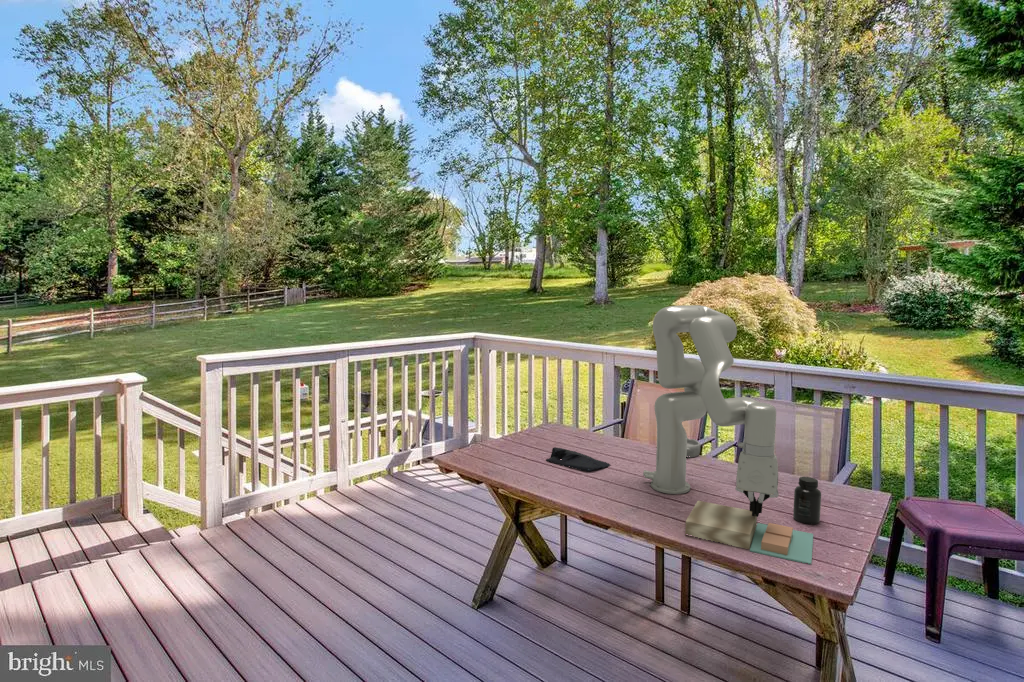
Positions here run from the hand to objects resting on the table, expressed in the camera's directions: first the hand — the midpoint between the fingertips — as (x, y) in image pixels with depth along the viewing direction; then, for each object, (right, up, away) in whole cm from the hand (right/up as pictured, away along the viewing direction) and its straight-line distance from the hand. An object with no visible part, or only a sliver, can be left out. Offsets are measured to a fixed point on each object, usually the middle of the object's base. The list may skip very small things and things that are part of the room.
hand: (755, 514), depth 153 cm
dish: (+1, +3, +69) cm, 70 cm away
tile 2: (+1, -4, -10) cm, 11 cm away
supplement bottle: (+18, -4, +8) cm, 20 cm away
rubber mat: (+4, -5, -6) cm, 9 cm away
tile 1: (+5, -4, -4) cm, 7 cm away
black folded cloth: (-42, +1, +57) cm, 71 cm away
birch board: (-9, -5, +1) cm, 10 cm away
